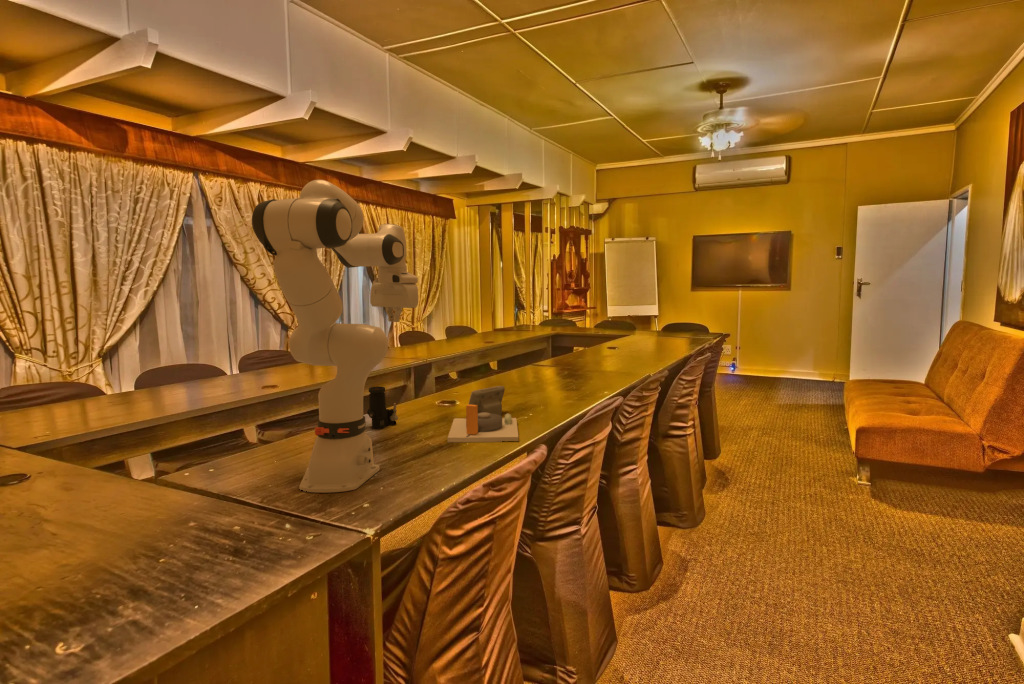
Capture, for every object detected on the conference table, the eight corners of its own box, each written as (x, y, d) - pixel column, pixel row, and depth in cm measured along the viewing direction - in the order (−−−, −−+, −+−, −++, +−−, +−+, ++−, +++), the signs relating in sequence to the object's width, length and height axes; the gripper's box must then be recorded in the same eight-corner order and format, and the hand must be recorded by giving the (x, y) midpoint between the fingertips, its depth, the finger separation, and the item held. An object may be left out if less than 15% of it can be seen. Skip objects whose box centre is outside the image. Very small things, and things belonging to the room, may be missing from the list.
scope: (397, 385, 189) (380, 391, 180) (398, 424, 191) (381, 431, 182) (377, 384, 192) (360, 389, 183) (379, 422, 194) (361, 429, 185)
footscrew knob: (475, 420, 189) (475, 394, 188) (507, 423, 185) (507, 397, 184) (453, 432, 174) (453, 404, 173) (488, 435, 170) (487, 407, 169)
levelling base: (518, 441, 170) (518, 429, 169) (447, 442, 169) (447, 430, 169) (516, 422, 194) (516, 411, 193) (454, 422, 193) (454, 411, 193)
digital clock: (498, 410, 211) (498, 383, 210) (511, 415, 204) (511, 387, 203) (461, 416, 203) (460, 388, 201) (473, 421, 195) (473, 392, 194)
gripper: (364, 277, 175) (366, 320, 176) (404, 277, 162) (406, 323, 163) (381, 277, 180) (382, 319, 181) (421, 277, 166) (422, 322, 168)
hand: (393, 321), depth 172 cm, fingers closed
